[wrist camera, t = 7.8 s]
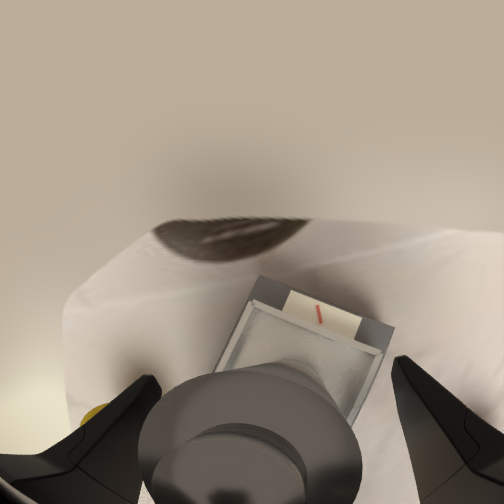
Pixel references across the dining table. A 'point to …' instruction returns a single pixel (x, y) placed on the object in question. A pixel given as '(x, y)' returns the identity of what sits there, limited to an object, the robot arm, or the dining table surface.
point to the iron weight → (250, 440)
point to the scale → (309, 341)
